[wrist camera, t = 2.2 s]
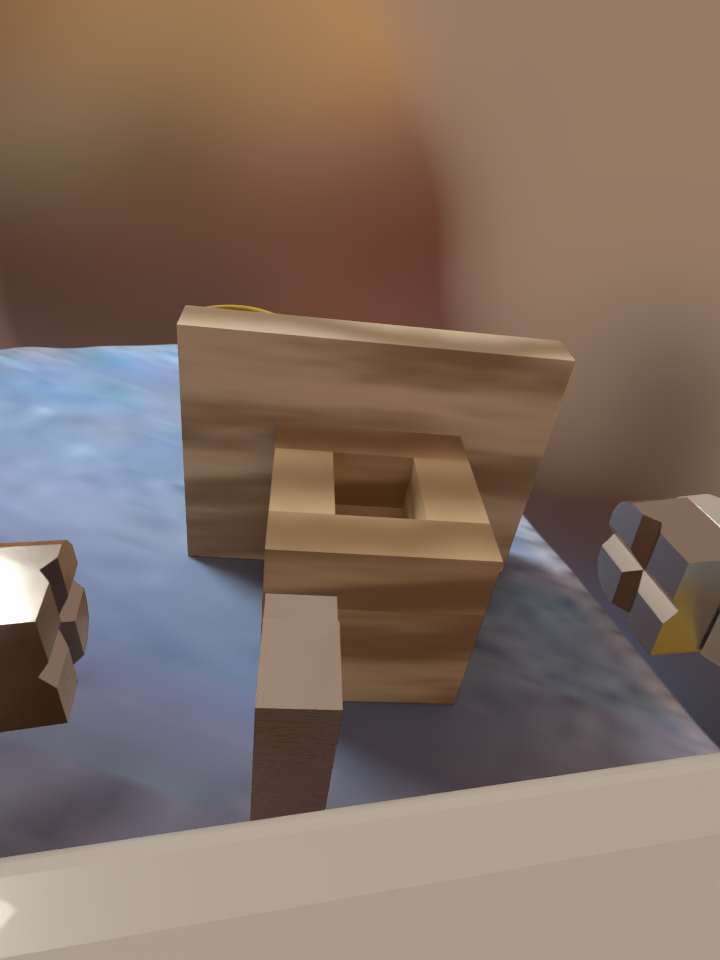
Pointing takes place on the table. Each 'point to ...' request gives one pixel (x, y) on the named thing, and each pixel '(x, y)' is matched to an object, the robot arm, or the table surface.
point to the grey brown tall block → (296, 705)
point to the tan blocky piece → (367, 475)
